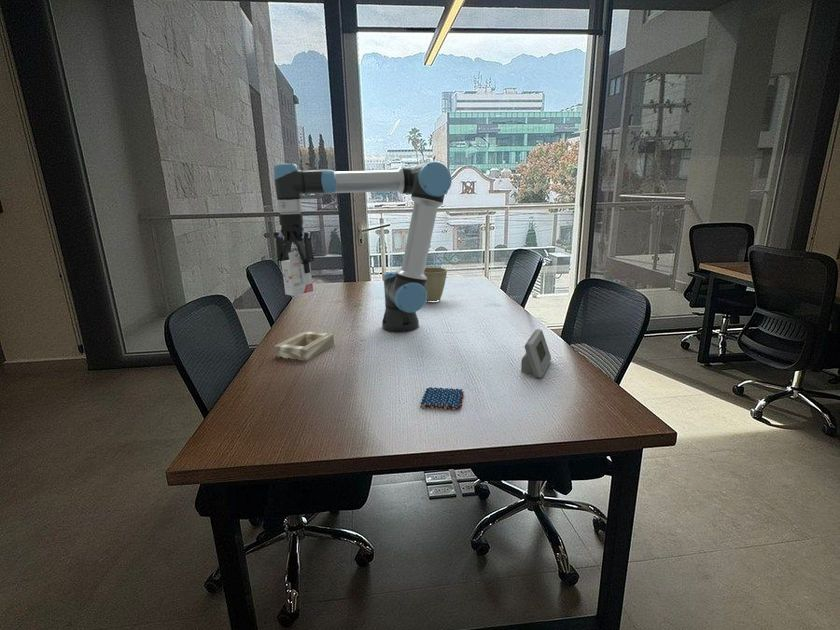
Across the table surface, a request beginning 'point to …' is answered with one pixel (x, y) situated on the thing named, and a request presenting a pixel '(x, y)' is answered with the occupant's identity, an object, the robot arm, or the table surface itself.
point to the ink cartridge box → (295, 276)
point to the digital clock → (536, 355)
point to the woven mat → (442, 398)
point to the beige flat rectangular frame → (296, 349)
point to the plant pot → (435, 283)
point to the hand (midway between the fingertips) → (298, 281)
